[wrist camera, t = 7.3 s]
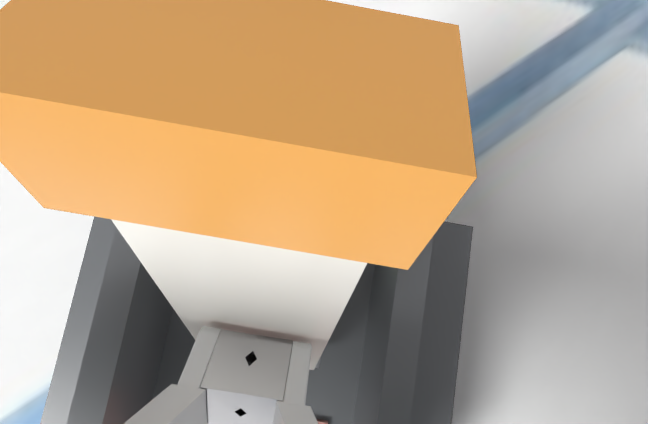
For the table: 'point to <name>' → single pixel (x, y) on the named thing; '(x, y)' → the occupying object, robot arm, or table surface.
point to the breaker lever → (241, 144)
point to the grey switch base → (323, 383)
